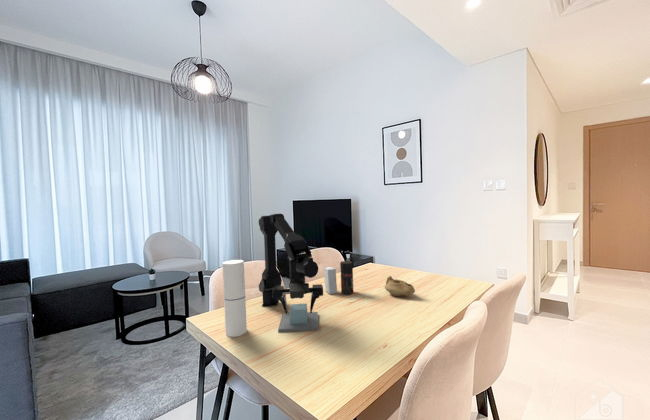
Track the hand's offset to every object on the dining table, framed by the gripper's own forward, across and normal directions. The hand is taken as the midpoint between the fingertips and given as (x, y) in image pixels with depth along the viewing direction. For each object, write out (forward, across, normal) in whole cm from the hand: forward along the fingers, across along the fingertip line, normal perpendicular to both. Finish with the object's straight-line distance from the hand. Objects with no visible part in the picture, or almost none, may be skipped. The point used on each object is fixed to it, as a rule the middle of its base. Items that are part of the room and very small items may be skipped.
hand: (298, 313), depth 107 cm
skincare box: (+4, +14, +34) cm, 37 cm away
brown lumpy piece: (+4, +46, +25) cm, 52 cm away
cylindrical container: (+4, -22, -5) cm, 23 cm away
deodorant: (+4, +22, +32) cm, 39 cm away
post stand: (+3, 0, 0) cm, 3 cm away
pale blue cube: (+2, 0, 0) cm, 2 cm away
